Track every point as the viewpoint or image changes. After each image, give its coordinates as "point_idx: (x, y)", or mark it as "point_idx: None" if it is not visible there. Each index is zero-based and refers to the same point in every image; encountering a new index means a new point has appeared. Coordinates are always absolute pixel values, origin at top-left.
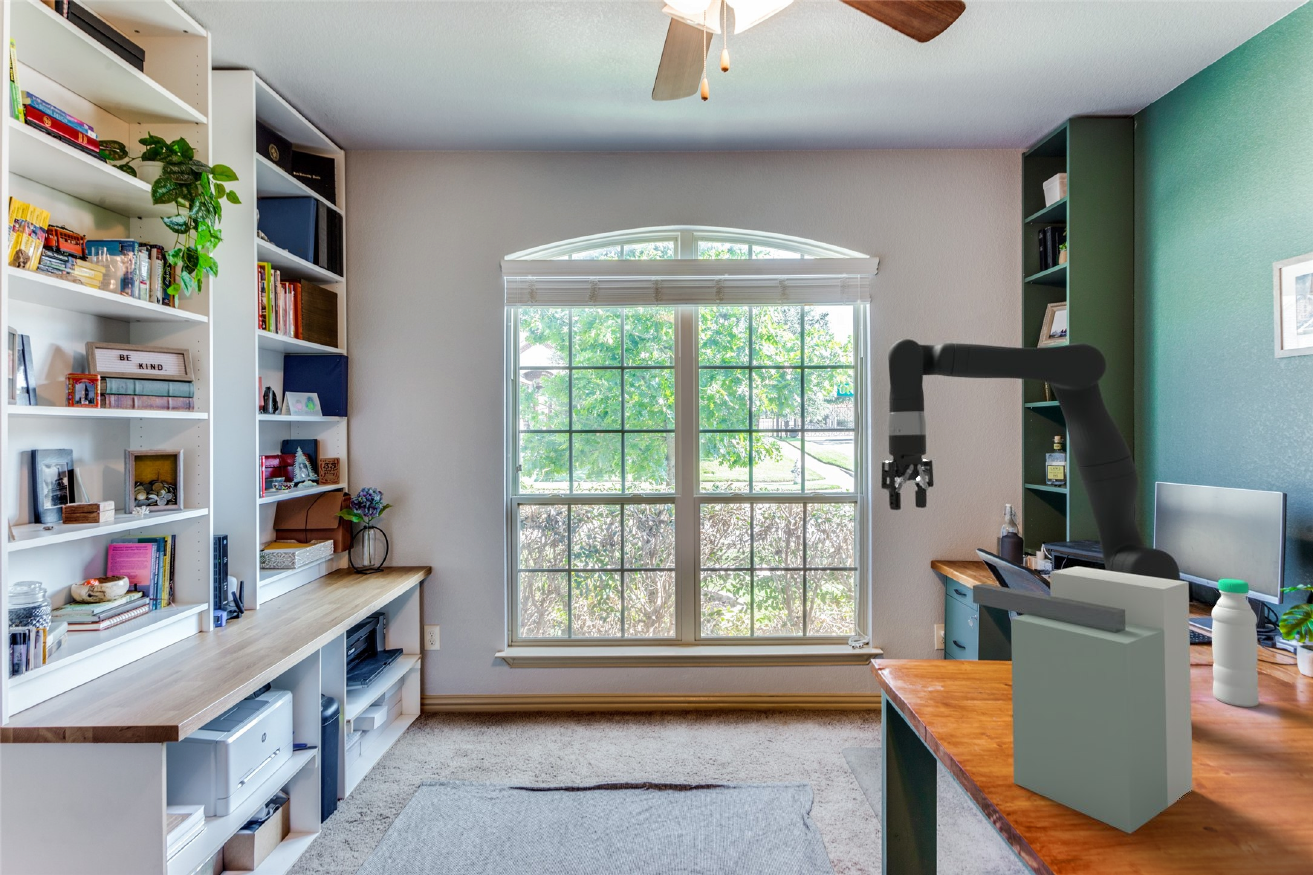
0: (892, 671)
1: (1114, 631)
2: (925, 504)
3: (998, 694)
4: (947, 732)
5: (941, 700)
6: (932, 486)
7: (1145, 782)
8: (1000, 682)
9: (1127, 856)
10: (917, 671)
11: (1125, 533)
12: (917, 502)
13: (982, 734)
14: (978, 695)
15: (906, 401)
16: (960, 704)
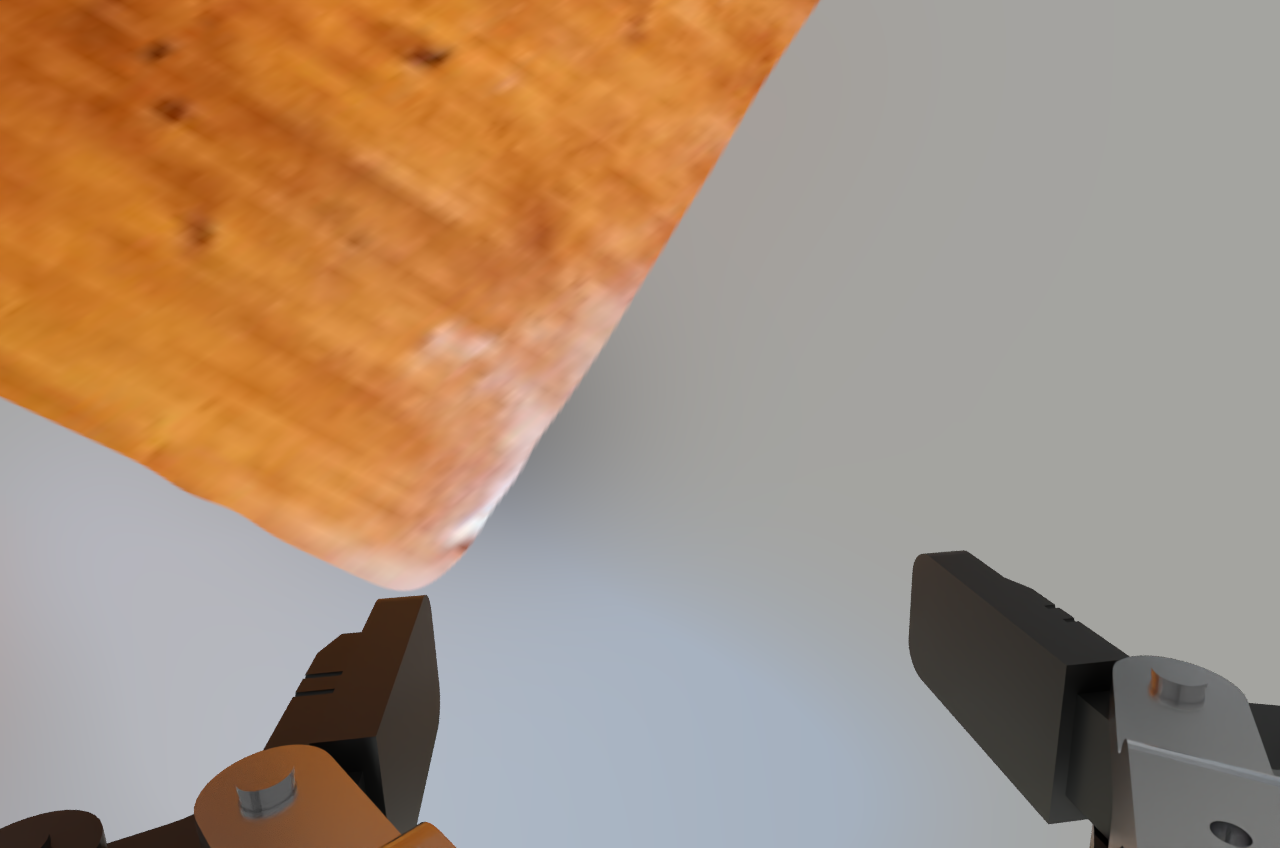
0: (460, 511)
1: None
2: (389, 610)
3: (315, 196)
4: (715, 101)
5: (529, 263)
6: (30, 821)
7: None
8: (204, 261)
9: None
10: (383, 473)
11: None
12: (428, 724)
13: (643, 34)
14: (385, 227)
15: None
16: (505, 210)
